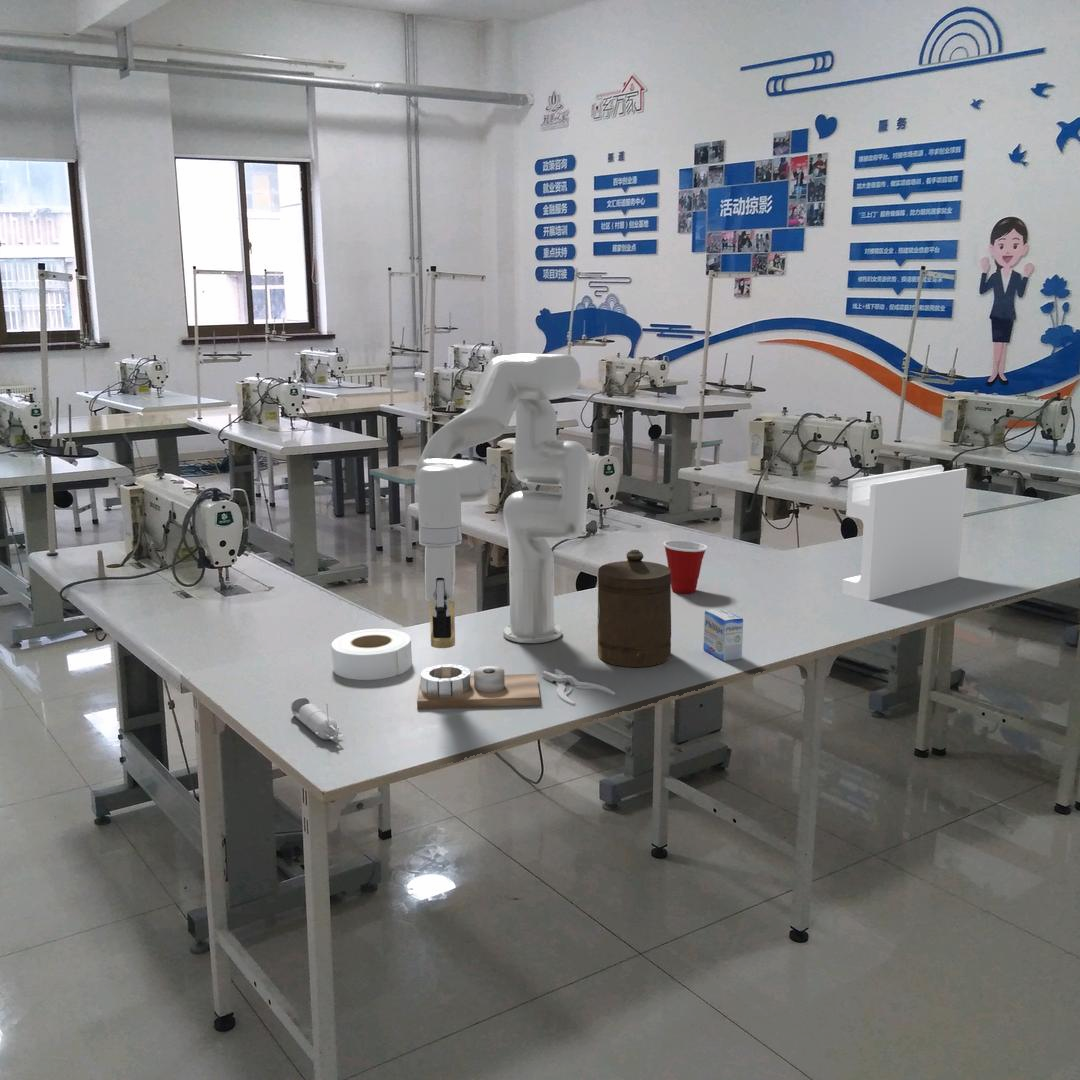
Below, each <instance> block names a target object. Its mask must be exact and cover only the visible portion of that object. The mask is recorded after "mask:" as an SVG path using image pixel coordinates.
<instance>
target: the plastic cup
mask: <svg viewBox="0 0 1080 1080" xmlns="http://www.w3.org/2000/svg"><path fill="white" fill-rule="evenodd" d="M663 546H664V549H665V556H666V562H667V567H668V568H669V569H670V570H671V590H672V592H673V593H675V594H679V595H688V594H694V593H695V592H696V590H697V587H698V581H699V580H698V579H699V576H700V573H701V568H702V563H703V558H704V556H705V554H706V551H707V550H708V548H709V546H707V545H706V544H703V543H700V542H697V541H690V540H689V541H688V540H680V539H678V540H676V539H674V540H667V541H666V540H665V541H664V542H663Z"/></svg>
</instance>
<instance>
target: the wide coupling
mask: <svg viewBox="0 0 1080 1080" xmlns="http://www.w3.org/2000/svg"><path fill="white" fill-rule="evenodd" d="M470 676H471V669H470V668H468V667H466V666H464V665H460V664H455V663H442V664H437V665H433V666H428V667H426V668H424V669H422V670H421V672H420V679H421V691H422V692H423V693H425V694H426V695H429V696H434V697H451V696H452V697H454V696H458V695H462V694H465V693H466V692H468V691H469V690H470V689H471V681H470Z"/></svg>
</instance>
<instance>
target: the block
mask: <svg viewBox="0 0 1080 1080" xmlns="http://www.w3.org/2000/svg"><path fill="white" fill-rule="evenodd" d="M944 469H945V467H944V466H943V465H942V464H935V465H928V466H922V467H917V468H911V469H906V470H898V471H894V472H886V473H882V474H881V473H880V474H875V475H869V476H863V477H855V478H849V479H848V480H847V488H846V489H847V492H846V497H847V499H846V508H845V509H846V511H845V516H846V517H849V518H856V519H859V520H860V522H862V524H863V526H862V528H863V529H862V545H861V562H860V563H861V564H860V574H859V575H855V576H851V577H847V578H844V579H842V584H841V585H842V586H841V588H842V589H841V594H844V595H847V596H851V597H854V598H858V599H861V600H865V601H869V602H871V601H874V600H876V599H881V598H885V597H889V596H891V595H892V596H893V595H896V594H900V593H904V592H906V591H907V592H908V591H911V590H916V589H918V588H923V587H926V586H929V585H930V586H931V585H934V584H938V583H942V582H945V581H950V580H953V579H957V578H959V575H960V562H961V550H962V549H961V548H962V540H963V539H962V537H963V527H964V526H963V524H964V511H965V500H966V485H967V475H968V469H967V468H958V469H952V470H946V471H945V470H944Z"/></svg>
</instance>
